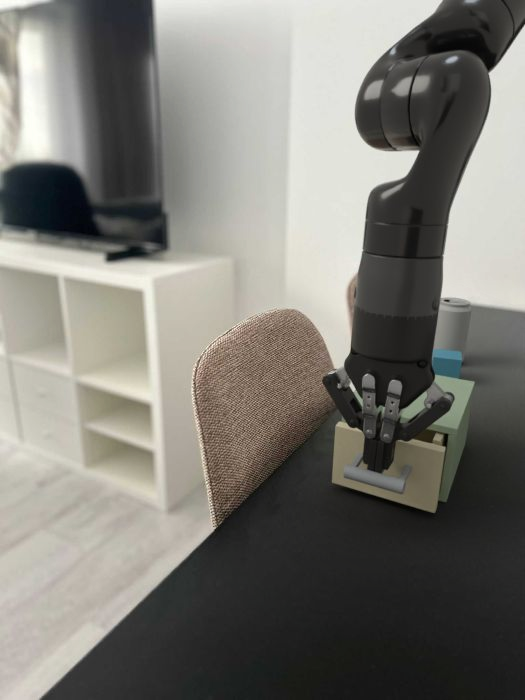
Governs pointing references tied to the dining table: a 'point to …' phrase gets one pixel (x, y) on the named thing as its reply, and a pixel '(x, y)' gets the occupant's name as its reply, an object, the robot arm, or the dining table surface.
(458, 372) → the small sky-blue cube
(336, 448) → the drawer
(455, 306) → the beverage can
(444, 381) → the cabinet
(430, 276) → the robot arm
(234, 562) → the dining table surface
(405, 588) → the dining table surface
